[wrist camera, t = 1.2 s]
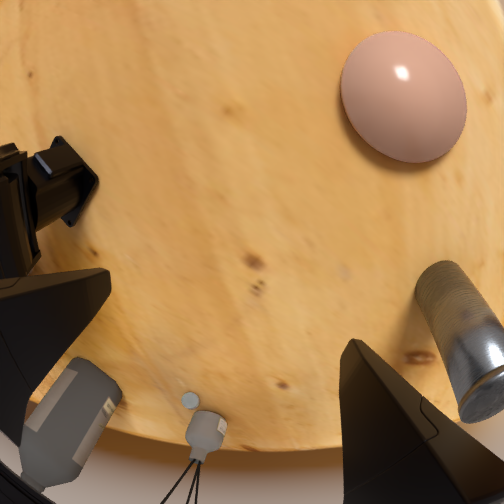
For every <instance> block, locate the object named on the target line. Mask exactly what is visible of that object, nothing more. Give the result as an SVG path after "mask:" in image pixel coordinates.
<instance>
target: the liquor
mask: <svg viewBox="0 0 504 504" xmlns="http://www.w3.org/2000/svg"><path fill="white" fill-rule="evenodd" d="M121 398H122V391H121V390H120V388H119V386H118V385H117V383H116V381H114V380H113V379H112V378H110V377H109V376H108V375H106V374H105V373H104V372H103V371H101V370H100V369H99V368H98V367H96V366H95V365H94V364H93V363H91V362H90V361H88V360H85V359H82V358H78V357H77V358H74V359H72V360H71V362H70V363H69V364H68V365H67V367H66V368H65V369H64V371H63V372H62V373H61V375H60V376H59V377H58V379H57V380H56V381H55V382H54V384H53V385H52V387H51V388H50V389H49V391H48V392H47V393H46V395H45V396H44V397H43V399H42V400H41V402H40V403H39V404H38V406H37V407H36V409H35V410H34V412H33V413H32V414H31V416H30V417H29V419H28V420H27V422H26V423H25V425H24V426H23V433H22V441H21V446H20V448H19V453H20V459H21V465H22V469H23V472H22V473H21V478H22V479H23V480H24V481H25V482H27V483H28V484H29V485H31V486H32V487H33V488H35V489H36V490H37V491H39V492H40V493H41V492H43V491H44V489H45V488H46V487H51V486H55V485H60V484H63V483H68V482H72V481H73V480H75V479H76V478H77V477H78V476H79V474H80V472H81V470H82V469H83V466H84V465H85V463H86V461H87V459H88V457H89V455H90V454H91V452H92V450H93V448H94V446H95V444H96V443H97V440H98V439H99V437H100V435H101V433H102V432H103V430H104V428H105V426H106V425H107V423H108V421H109V419H110V417H111V416H112V414H113V412H114V410H115V409H116V407H117V405H118V403H119V402H120V400H121Z"/></svg>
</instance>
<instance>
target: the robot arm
mask: <svg viewBox="0 0 504 504" xmlns="http://www.w3.org/2000/svg"><path fill="white" fill-rule="evenodd" d="M92 178H93V181H92ZM97 183H98V176H97V175H96V174H95V173H94V172H93V170H92V169H91V168H90V167H89V166H88V165H87V164H86V163H85V162H84V161H83V159H82V158H81V157H80V156H79V155H78V154H77V153H76V152H75V150H74V149H73V148H72V147H71V146H70V145H69V144H68V143H67V142H66V141H65V140H64V139H63V137H62V136H56V137H55V138H54V140H53V142H52V144H51V146H50V149H47V150H43V151H40V152H36V153H34V156H31V157H28V158H27V151H19V150H18V149H17V147H16V145H15V143H9V144H5V145H2V146H0V432H1V433H2V434H3V435H4V436H6V437H7V438H8V439H9V440H10V441H11V442H12V443H14V444H15V445H16V446H17V447H18V448H20V446H21V441H22V433H23V426H24V419H25V413H26V407H27V403H28V400H29V398H30V396H31V395H32V393H33V392H34V391H35V389H36V388H37V387H38V385H39V384H40V383H41V382H42V380H43V379H44V378H45V376H46V375H47V374H48V373H49V371H50V370H51V369H52V368H53V366H54V365H55V364H56V363H57V361H58V360H59V359H60V358H61V356H62V355H63V354H64V353H65V351H66V350H67V349H68V348H69V347H70V345H71V344H72V343H73V342H74V341H75V339H76V338H77V337H78V336H79V335H80V334H81V332H82V331H83V330H84V329H85V328H86V327H87V325H88V324H89V323H90V322H91V321H92V319H93V318H94V317H95V315H96V314H97V312H98V311H99V310H100V308H101V307H102V305H103V304H104V302H105V301H106V300H107V298H108V297H109V295H110V293H111V277H110V272H109V271H108V270H106V269H104V268H93V269H84V270H76V271H68V272H60V273H52V274H43V275H35V276H27V275H28V273H29V272H30V271H31V269H32V268H33V267H34V265H35V264H36V263H37V261H38V260H39V259H40V258H41V252H40V250H39V247H38V242H37V238H36V232H37V231H39V230H41V229H42V228H44V227H46V226H47V225H49V224H51V223H52V222H54V221H56V220H57V219H59V218H61V219H62V220H63V221H64V222H65V223H66V224H67V226H69V227H73V226H74V225H75V224H76V222H77V220H78V218H79V216H80V214H81V212H82V210H83V208H84V206H85V204H86V203H87V201H88V199H89V197H90V195H91V193H92V192H93V190H94V188H95V186H96V185H97ZM70 221H71V222H70ZM339 400H340V414H341V429H342V448H343V476H344V500H343V504H504V461H503V460H501V459H500V458H499V457H497V456H496V455H495V454H493V453H492V452H491V451H490V450H489V449H487V448H486V447H485V446H483V445H482V444H481V443H480V442H478V441H477V440H476V439H475V438H473V437H472V436H471V435H469V434H468V433H467V432H466V431H464V430H463V429H462V428H461V427H459V426H458V425H457V424H456V423H454V422H453V421H452V420H450V419H449V418H448V417H447V416H446V415H444V414H443V413H442V412H441V411H439V410H438V409H437V408H436V407H435V406H434V405H433V404H432V403H430V402H429V401H428V400H427V399H426V398H425V397H424V396H422V395H421V394H420V393H419V392H418V391H417V390H416V389H415V388H414V387H412V386H411V385H410V384H409V383H408V382H407V381H406V380H405V379H404V378H403V377H402V376H400V375H399V374H398V373H397V372H396V371H395V370H394V369H393V368H392V367H391V366H390V365H388V364H387V363H386V362H385V361H384V360H383V359H382V358H381V357H380V356H379V355H378V354H376V353H375V352H374V351H373V350H372V349H371V348H370V347H369V346H368V345H367V344H365V343H364V342H363V341H362V340H359V339H354V338H352V339H351V340H350V341H349V342H348V344H347V346H346V348H345V349H344V351H343V353H342V355H341V359H340V379H339ZM0 504H56V503H55V502H53V501H51V500H50V499H49V498H47V497H46V496H44V495H43V494H41V493H40V492H39V491H37V490H36V489H35V488H33V487H32V486H31V485H29V484H28V483H27V482H25V481H24V480H23V479H22V478H20V477H19V476H18V475H17V474H15V473H14V472H13V471H12V470H11V469H9V468H8V467H7V466H6V465H5V464H4V463H3V462H2V461H1V460H0Z"/></svg>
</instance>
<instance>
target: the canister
mask: <svg viewBox="0 0 504 504" xmlns="http://www.w3.org/2000/svg"><path fill="white" fill-rule="evenodd" d="M415 295H416V299H417V301H418V303H419V305H420V308H421V310H422V312H423V314H424V316H425V319H426V321H427V323H428V326H429V328H430V330H431V333H432V335H433V337H434V340H435V342H436V345H437V347H438V350H439V352H440V355H441V357H442V360H443V363H444V365H445V368H446V371H447V374H448V376H449V379H450V382H451V385H452V388H453V391H454V394H455V397H456V400H457V404H458V413H459V416H460V419H461V421H462V422H464V423H469V424H470V423H476V422H480V421H483V420H486V419H488V418H490V417H492V416H494V415H496V414H497V413H499V412H500V411H502V410H503V409H504V328H503V326H502V325H501V323H500V322H499V320H498V318H497V317H496V315H495V314H494V312H493V311H492V310H491V308H490V307H489V305H488V304H487V302H486V301H485V299H484V298H483V297H482V295H481V294H480V292H479V291H478V290H477V288H476V287H475V286H474V284H473V283H472V282H471V280H470V279H469V278H468V276H467V275H466V274H465V273H464V271H463V270H462V269H461V268H460V266H459V265H458V264H457V263H455V262H453V261H446V260H445V261H440V262H437V263H435V264H433V265H431V266H430V267H428V268H427V269H426V270H425V271H424V272H423V273H422V275H421V276H420V278H419V280H418V282H417V284H416V289H415Z"/></svg>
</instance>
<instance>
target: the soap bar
mask: <svg viewBox="0 0 504 504" xmlns="http://www.w3.org/2000/svg"><path fill="white" fill-rule="evenodd" d="M340 92H341V99H342V104H343V107H344V110H345V113H346V115H347V117H348V119H349V121H350V123H351V124H352V126H353V128H354V129H355V130H356V132H357V133H358V134H359V135H360V136H361V138H362V139H363V140H364V141H365V142H367V143H368V144H369V145H370V146H371V147H373V148H374V149H376V150H377V151H379V152H381V153H383V154H385V155H387V156H389V157H391V158H393V159H396V160H399V161H404V162H411V163H421V162H427V161H431V160H434V159H436V158H438V157H440V156H442V155H444V154H445V153H446V152H448V151H449V150H450V149H451V148H452V147H453V146H454V145H455V143H456V142H457V140H458V139H459V137H460V135H461V133H462V131H463V128H464V125H465V121H466V114H467V101H466V94H465V90H464V86H463V83H462V81H461V78H460V76H459V74H458V72H457V70H456V69H455V67H454V66H453V64H452V63H451V61H450V60H449V59H448V58H447V56H446V55H445V54H444V53H443V52H442V51H441V50H440V49H438V48H437V47H436V46H435V45H433V44H432V43H430V42H429V41H427V40H425V39H423V38H421V37H419V36H417V35H414V34H411V33H407V32H401V31H386V32H381V33H377V34H374V35H372V36H369V37H368V38H366V39H364V40H363V41H362V42H360V43H359V44H358V45H357V46H356V47H355V48H354V50H353V51H352V52H351V54H350V55H349V56H348V58H347V60H346V62H345V64H344V67H343V70H342V74H341V81H340Z"/></svg>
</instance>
